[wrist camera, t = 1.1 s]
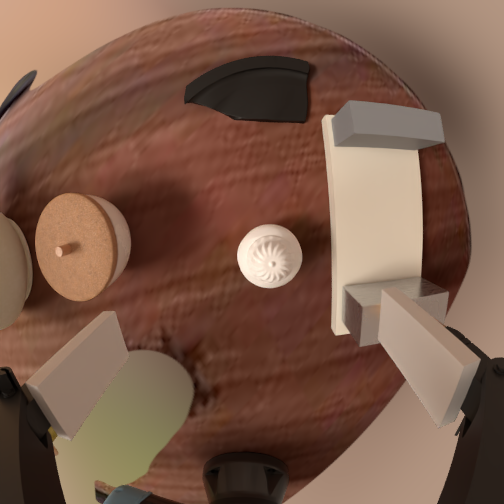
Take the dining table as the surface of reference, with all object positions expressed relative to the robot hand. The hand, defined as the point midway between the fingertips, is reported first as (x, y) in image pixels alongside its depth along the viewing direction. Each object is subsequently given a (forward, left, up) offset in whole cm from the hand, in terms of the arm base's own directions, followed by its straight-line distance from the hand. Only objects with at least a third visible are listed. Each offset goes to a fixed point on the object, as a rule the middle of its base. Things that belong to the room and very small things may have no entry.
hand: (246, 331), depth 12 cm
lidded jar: (+4, +17, -18) cm, 25 cm away
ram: (-6, -14, -15) cm, 22 cm away
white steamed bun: (0, -2, -18) cm, 18 cm away
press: (+2, -14, -18) cm, 23 cm away
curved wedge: (+19, -2, -19) cm, 27 cm away
